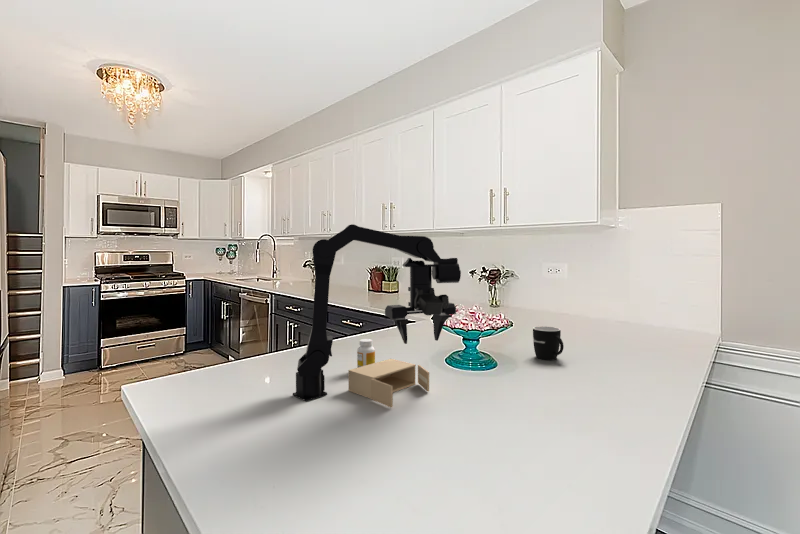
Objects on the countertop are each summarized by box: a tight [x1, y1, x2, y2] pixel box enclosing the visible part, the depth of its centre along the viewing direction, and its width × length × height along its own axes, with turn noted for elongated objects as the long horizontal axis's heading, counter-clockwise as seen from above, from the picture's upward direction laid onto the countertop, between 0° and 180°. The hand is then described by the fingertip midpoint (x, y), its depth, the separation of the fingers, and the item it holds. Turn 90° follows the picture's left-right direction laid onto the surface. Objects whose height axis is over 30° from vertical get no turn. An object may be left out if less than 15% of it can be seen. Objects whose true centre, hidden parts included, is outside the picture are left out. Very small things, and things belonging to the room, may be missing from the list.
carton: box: [347, 358, 417, 399], centre depth 114 cm, size 16×10×6 cm, turn 137°
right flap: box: [417, 364, 430, 392], centre depth 113 cm, size 8×1×5 cm, turn 17°
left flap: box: [370, 379, 394, 408], centre depth 101 cm, size 8×1×5 cm, turn 42°
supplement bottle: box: [356, 338, 376, 368], centre depth 128 cm, size 5×5×10 cm
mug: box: [532, 325, 564, 361], centre depth 143 cm, size 12×9×10 cm
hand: (421, 341), depth 113 cm, fingers open, 9 cm apart
